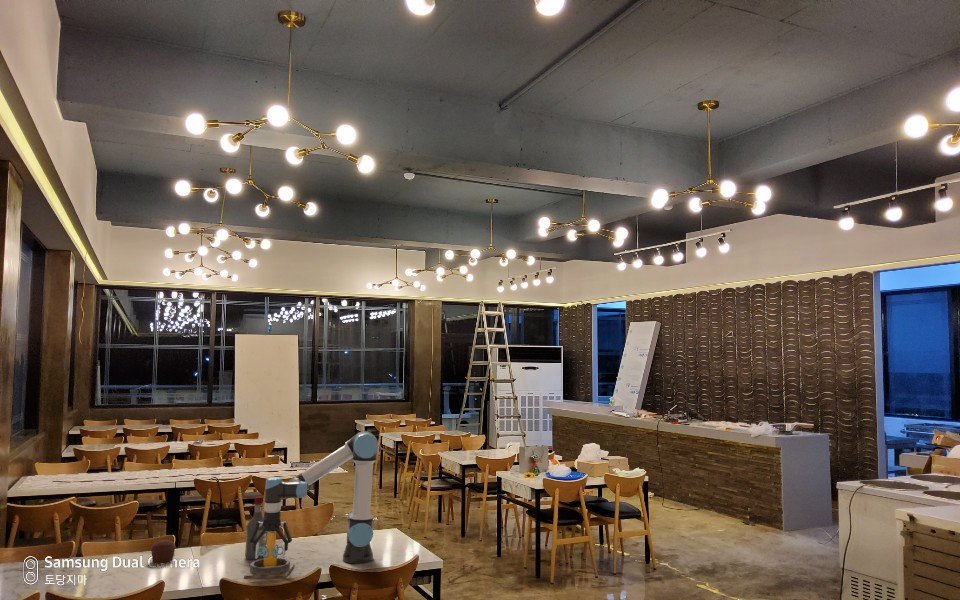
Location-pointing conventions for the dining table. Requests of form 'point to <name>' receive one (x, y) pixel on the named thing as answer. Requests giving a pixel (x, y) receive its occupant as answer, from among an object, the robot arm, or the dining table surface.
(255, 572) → the holder
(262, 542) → the liquor
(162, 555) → the muffin
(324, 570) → the dining table surface
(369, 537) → the robot arm
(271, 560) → the orange post with loops
